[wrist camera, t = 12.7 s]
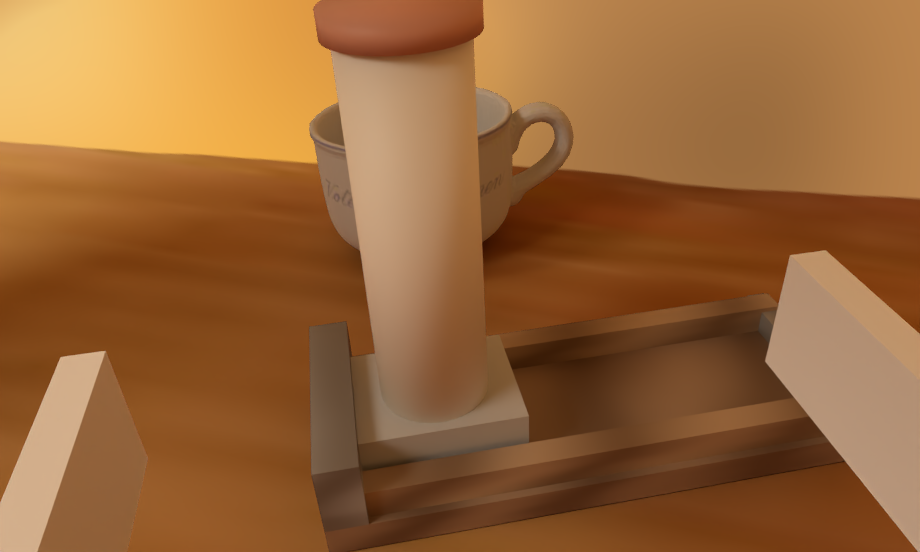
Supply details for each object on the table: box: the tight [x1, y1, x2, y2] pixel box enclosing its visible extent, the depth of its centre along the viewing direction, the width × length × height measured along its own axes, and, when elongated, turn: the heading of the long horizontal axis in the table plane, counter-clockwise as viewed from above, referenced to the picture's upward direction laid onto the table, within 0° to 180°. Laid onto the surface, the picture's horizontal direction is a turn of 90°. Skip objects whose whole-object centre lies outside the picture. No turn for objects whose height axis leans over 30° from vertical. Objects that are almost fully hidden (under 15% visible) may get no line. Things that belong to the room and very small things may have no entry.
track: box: [309, 293, 845, 552], centre depth 29 cm, size 20×8×4 cm, turn 100°
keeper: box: [313, 0, 529, 471], centre depth 25 cm, size 6×5×16 cm
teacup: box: [310, 87, 573, 251], centre depth 42 cm, size 14×11×8 cm
